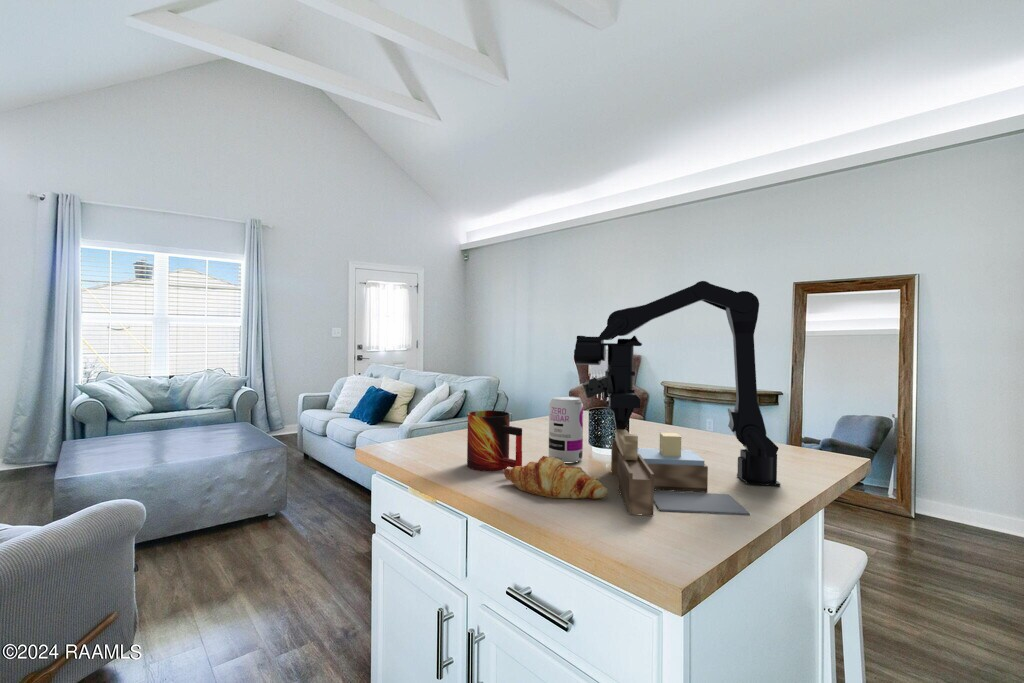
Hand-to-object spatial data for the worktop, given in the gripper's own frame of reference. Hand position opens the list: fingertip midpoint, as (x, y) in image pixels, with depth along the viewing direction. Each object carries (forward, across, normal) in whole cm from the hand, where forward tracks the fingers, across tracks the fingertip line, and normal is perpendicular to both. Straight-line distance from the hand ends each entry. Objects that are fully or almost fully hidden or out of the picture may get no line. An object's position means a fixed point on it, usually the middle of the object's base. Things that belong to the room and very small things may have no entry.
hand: (619, 434), depth 110 cm
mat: (+8, +22, +11) cm, 25 cm away
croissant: (+8, +19, -15) cm, 25 cm away
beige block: (+1, +10, 0) cm, 10 cm away
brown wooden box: (+8, +16, +7) cm, 19 cm away
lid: (+3, +10, +7) cm, 13 cm away
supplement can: (+8, -6, -12) cm, 16 cm away
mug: (+8, +2, -28) cm, 29 cm away
